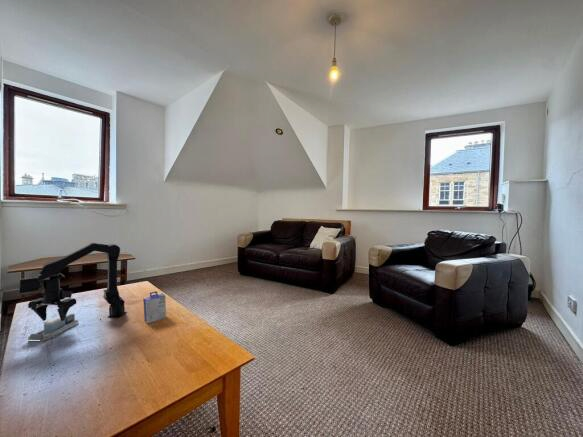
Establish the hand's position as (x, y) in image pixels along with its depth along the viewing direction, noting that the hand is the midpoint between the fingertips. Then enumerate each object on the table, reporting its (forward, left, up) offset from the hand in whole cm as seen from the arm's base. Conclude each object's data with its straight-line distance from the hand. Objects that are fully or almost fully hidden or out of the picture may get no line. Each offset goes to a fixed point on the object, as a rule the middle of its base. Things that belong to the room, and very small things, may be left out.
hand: (53, 320), depth 119 cm
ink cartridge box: (-41, -15, -6) cm, 44 cm away
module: (0, 0, -5) cm, 5 cm away
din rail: (0, 0, -6) cm, 6 cm away
